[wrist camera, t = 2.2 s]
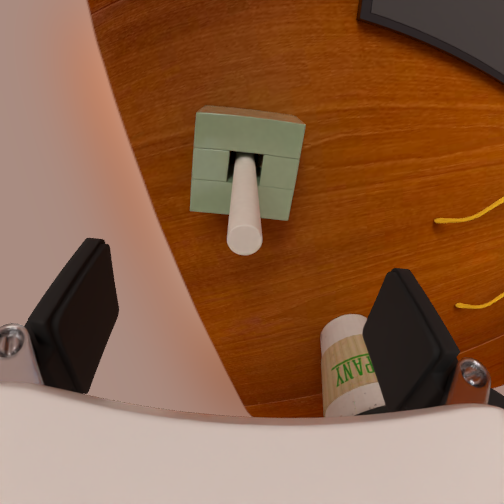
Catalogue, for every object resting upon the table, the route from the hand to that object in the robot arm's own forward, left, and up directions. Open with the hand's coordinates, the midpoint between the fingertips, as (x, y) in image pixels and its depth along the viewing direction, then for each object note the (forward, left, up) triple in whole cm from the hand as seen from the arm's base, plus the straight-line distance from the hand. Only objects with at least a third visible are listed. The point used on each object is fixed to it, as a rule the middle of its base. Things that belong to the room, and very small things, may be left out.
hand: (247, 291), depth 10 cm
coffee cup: (+19, +14, -17) cm, 29 cm away
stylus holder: (0, 0, -17) cm, 17 cm away
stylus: (0, 0, -17) cm, 17 cm away
